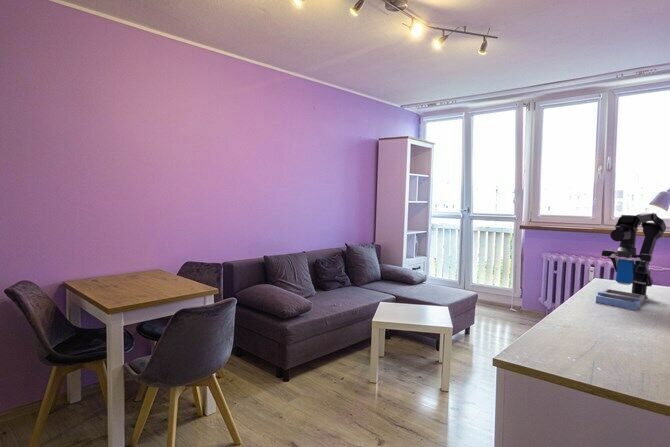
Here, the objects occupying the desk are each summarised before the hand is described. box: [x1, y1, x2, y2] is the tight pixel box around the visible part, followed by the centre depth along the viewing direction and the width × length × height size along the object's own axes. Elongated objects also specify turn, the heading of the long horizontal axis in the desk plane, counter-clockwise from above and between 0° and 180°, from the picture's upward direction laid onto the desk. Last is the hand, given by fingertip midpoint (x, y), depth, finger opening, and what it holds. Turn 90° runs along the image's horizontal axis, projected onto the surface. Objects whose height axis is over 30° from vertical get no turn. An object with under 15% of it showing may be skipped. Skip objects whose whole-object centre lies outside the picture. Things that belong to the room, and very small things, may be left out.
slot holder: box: [595, 288, 646, 311], centre depth 181 cm, size 21×15×4 cm
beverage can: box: [615, 257, 635, 286], centre depth 183 cm, size 6×6×12 cm
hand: (624, 273), depth 183 cm, fingers closed on beverage can, 6 cm apart
